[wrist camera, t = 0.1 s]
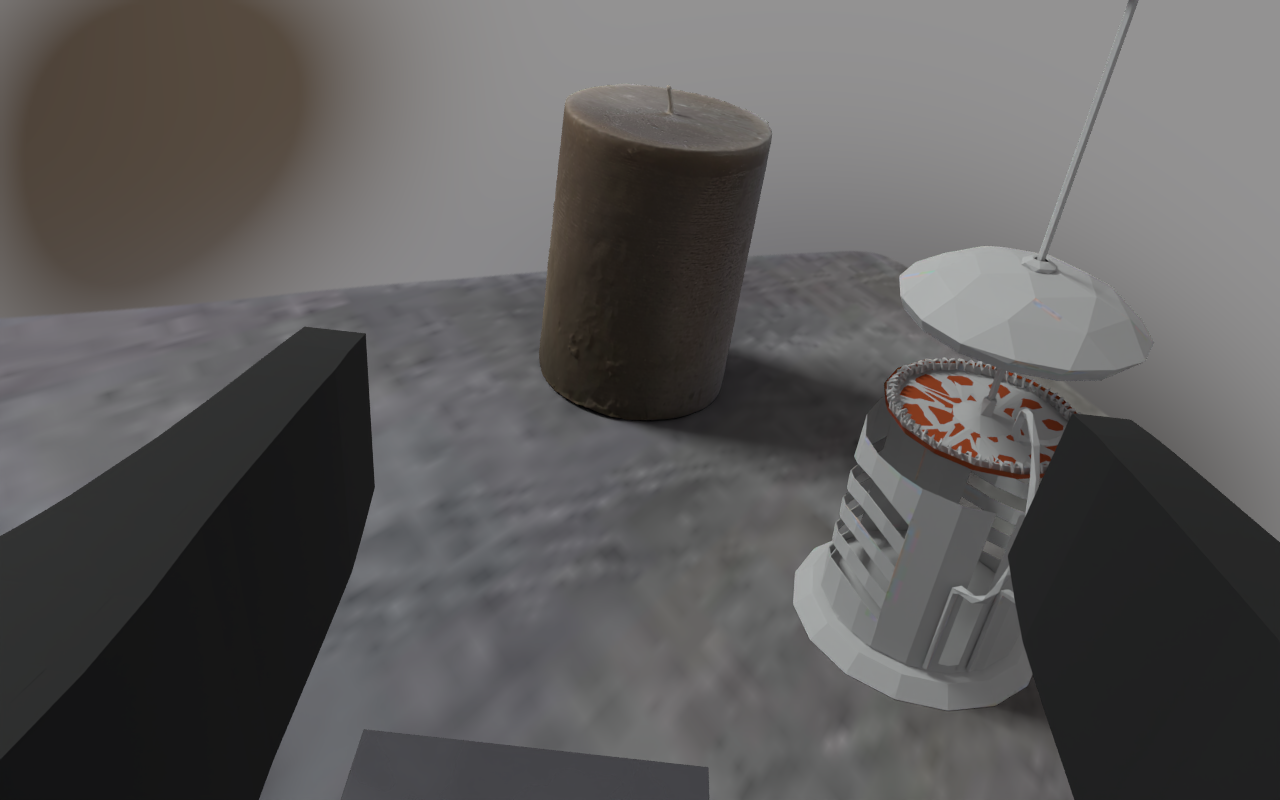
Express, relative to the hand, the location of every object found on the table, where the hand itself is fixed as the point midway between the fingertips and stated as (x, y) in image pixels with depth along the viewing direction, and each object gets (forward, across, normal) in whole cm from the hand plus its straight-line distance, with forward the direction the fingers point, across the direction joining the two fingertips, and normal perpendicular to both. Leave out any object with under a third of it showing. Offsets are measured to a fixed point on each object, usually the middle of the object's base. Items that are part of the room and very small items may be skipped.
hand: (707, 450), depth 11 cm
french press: (+19, -12, +23) cm, 33 cm away
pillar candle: (+36, 0, +25) cm, 44 cm away
